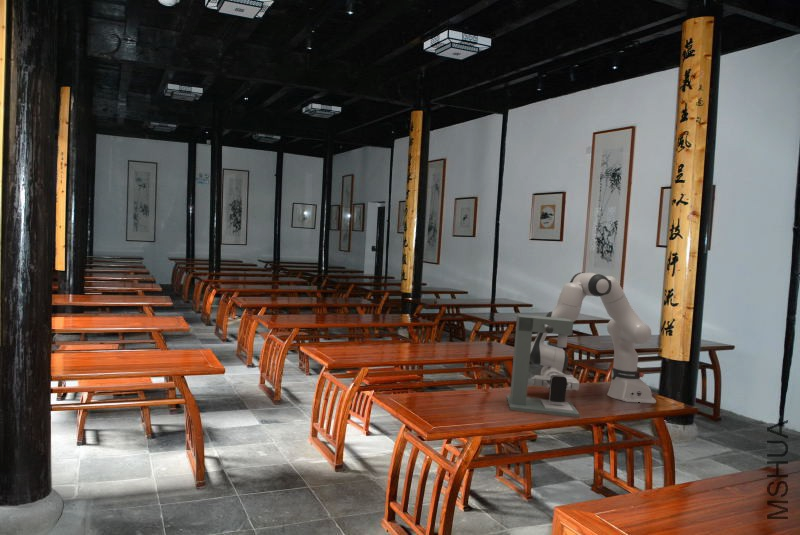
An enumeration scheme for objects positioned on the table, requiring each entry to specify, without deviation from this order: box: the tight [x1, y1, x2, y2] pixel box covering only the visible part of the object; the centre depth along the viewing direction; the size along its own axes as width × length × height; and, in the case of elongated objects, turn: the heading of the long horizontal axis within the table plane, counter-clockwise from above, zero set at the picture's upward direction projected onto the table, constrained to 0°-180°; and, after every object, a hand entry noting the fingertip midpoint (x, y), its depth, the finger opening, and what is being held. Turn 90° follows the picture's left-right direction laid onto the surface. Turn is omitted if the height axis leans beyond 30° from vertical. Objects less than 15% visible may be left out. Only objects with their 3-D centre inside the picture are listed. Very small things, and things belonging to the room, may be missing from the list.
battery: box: [548, 375, 567, 402], centre depth 260 cm, size 7×4×11 cm, turn 90°
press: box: [506, 313, 580, 418], centre depth 257 cm, size 29×28×40 cm
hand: (558, 386), depth 259 cm, fingers closed on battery, 7 cm apart
